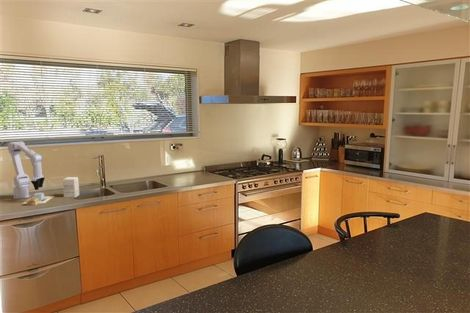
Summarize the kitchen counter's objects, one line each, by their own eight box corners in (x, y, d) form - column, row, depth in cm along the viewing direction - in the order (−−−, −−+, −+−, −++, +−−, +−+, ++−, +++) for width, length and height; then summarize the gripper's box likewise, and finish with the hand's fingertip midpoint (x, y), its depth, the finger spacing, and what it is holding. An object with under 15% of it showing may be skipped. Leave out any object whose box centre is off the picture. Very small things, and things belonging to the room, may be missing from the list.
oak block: (26, 205, 238) (26, 200, 237) (30, 203, 243) (29, 198, 242) (35, 205, 239) (35, 200, 238) (38, 203, 244) (38, 198, 243)
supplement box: (68, 195, 270) (67, 176, 268) (79, 194, 271) (78, 176, 269) (63, 198, 261) (62, 179, 259) (75, 197, 262) (74, 179, 260)
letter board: (22, 204, 242) (22, 203, 242) (34, 197, 262) (34, 196, 262) (44, 203, 245) (44, 203, 245) (54, 196, 265) (54, 195, 265)
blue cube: (34, 201, 250) (33, 194, 249) (37, 199, 255) (36, 192, 254) (41, 200, 251) (41, 194, 250) (44, 199, 255) (43, 192, 255)
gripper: (39, 172, 243) (40, 190, 245) (46, 169, 258) (48, 186, 259) (28, 172, 242) (30, 190, 244) (36, 169, 256) (38, 186, 258)
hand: (38, 188), depth 252 cm, fingers open, 7 cm apart
